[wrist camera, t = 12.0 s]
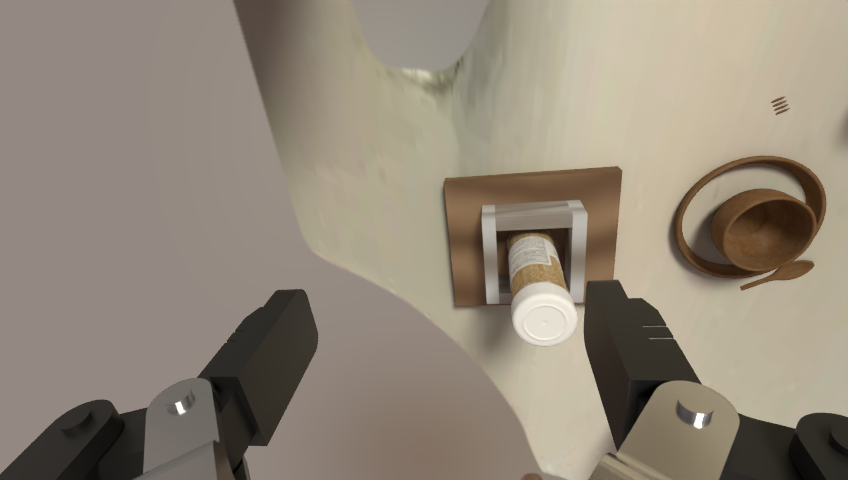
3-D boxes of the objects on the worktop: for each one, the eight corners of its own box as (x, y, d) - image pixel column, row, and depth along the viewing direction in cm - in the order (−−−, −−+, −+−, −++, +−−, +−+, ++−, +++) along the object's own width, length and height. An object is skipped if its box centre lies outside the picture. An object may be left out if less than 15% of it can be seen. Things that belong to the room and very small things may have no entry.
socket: (445, 178, 42) (439, 195, 37) (617, 166, 39) (634, 183, 35) (456, 298, 48) (453, 325, 43) (607, 295, 45) (620, 323, 40)
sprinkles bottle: (553, 260, 42) (578, 348, 30) (507, 263, 43) (513, 350, 31) (552, 218, 40) (579, 294, 28) (504, 222, 41) (510, 297, 29)
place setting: (636, 168, 39) (659, 188, 34) (895, 33, 32) (974, 33, 27) (705, 306, 44) (734, 342, 39) (942, 215, 38) (1016, 244, 32)
